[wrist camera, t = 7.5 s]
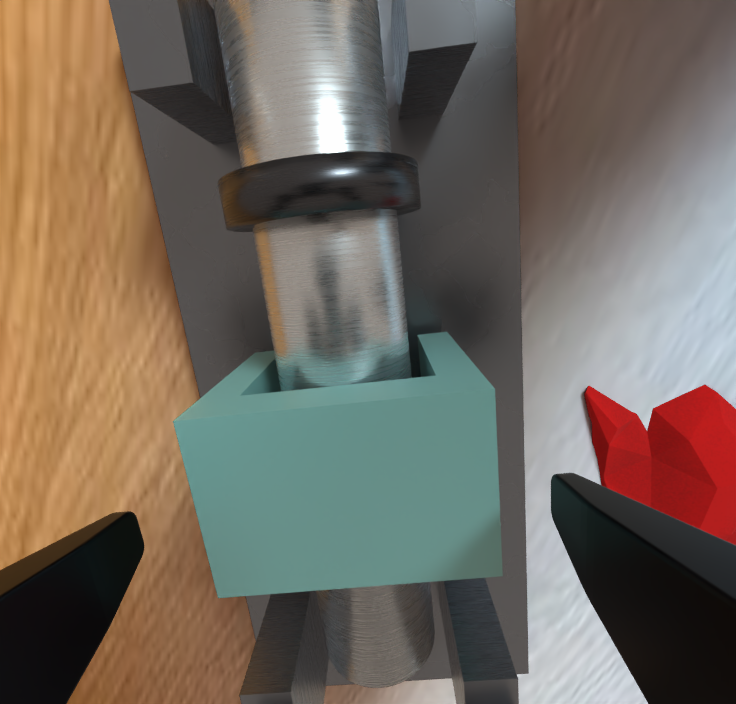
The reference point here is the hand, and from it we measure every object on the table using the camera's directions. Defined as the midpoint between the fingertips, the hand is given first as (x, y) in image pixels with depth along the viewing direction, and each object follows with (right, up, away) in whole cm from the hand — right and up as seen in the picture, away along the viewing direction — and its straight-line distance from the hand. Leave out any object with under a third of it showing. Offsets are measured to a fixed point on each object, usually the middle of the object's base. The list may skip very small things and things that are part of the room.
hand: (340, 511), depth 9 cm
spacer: (0, +2, +6) cm, 6 cm away
